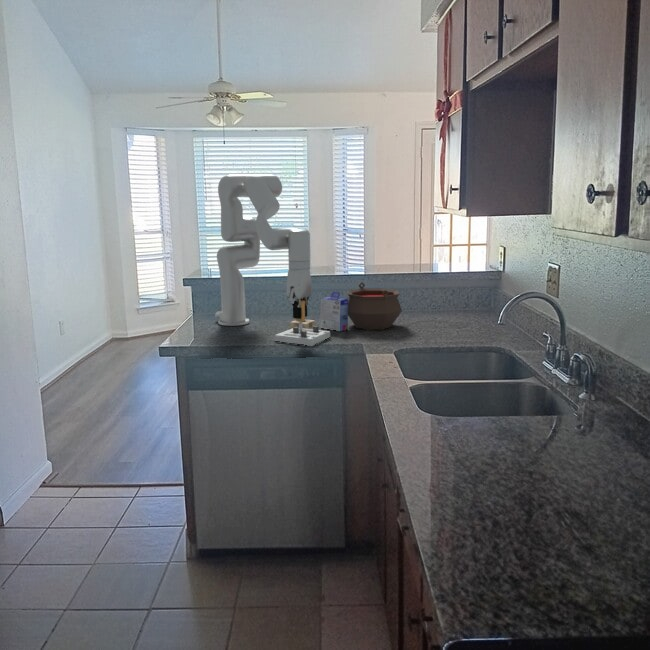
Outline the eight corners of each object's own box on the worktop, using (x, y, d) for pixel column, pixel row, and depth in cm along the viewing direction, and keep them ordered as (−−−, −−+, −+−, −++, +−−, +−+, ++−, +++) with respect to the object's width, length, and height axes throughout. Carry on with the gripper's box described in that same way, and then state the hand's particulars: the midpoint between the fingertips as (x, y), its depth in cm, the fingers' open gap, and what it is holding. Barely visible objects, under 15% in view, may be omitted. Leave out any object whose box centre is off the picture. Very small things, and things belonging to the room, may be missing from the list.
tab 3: (309, 333, 240) (309, 326, 240) (312, 332, 242) (312, 325, 241) (319, 334, 238) (319, 327, 238) (321, 333, 240) (321, 326, 239)
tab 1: (289, 334, 239) (289, 327, 238) (292, 333, 241) (292, 326, 240) (299, 335, 237) (299, 328, 237) (302, 334, 239) (302, 327, 238)
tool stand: (290, 332, 250) (290, 322, 249) (299, 328, 256) (299, 318, 255) (306, 334, 247) (306, 323, 246) (315, 330, 253) (315, 320, 252)
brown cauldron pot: (414, 329, 254) (415, 287, 250) (357, 335, 245) (357, 291, 242) (386, 318, 276) (386, 279, 272) (333, 322, 267) (333, 283, 263)
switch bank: (275, 341, 235) (274, 334, 235) (295, 333, 247) (294, 327, 247) (311, 346, 228) (311, 338, 228) (330, 338, 240) (330, 330, 240)
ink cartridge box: (348, 329, 254) (348, 292, 251) (340, 332, 250) (340, 294, 247) (328, 326, 260) (328, 290, 257) (320, 328, 256) (319, 292, 253)
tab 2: (297, 339, 232) (297, 331, 232) (300, 337, 234) (300, 330, 233) (307, 340, 230) (307, 332, 230) (310, 338, 232) (310, 331, 232)
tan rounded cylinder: (294, 334, 232) (293, 301, 229) (299, 332, 235) (298, 299, 232) (302, 335, 230) (301, 301, 228) (306, 333, 233) (306, 300, 231)
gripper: (302, 262, 236) (302, 312, 240) (277, 267, 222) (278, 320, 226) (320, 263, 233) (320, 314, 237) (296, 268, 219) (297, 322, 223)
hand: (300, 316), depth 231 cm, fingers closed on tan rounded cylinder, 3 cm apart
